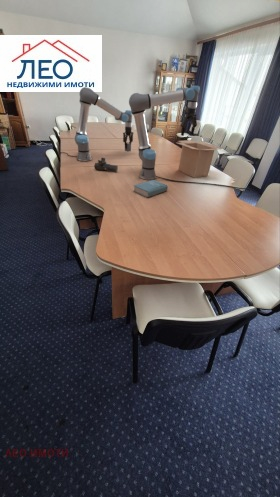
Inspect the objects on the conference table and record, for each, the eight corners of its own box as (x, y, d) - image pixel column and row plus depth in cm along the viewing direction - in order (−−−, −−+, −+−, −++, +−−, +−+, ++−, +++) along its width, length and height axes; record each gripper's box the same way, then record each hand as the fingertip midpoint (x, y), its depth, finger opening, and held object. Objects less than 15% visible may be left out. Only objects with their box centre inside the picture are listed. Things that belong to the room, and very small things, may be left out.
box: (220, 177, 217) (229, 148, 201) (192, 181, 203) (199, 150, 187) (192, 165, 247) (198, 138, 231) (166, 167, 233) (170, 139, 217)
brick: (128, 150, 268) (128, 142, 263) (130, 151, 265) (131, 143, 260) (124, 150, 266) (124, 142, 260) (127, 151, 262) (127, 143, 257)
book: (152, 185, 190) (153, 179, 187) (167, 191, 181) (167, 185, 178) (133, 191, 176) (133, 185, 173) (147, 198, 167) (148, 191, 164)
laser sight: (115, 173, 209) (115, 162, 203) (92, 170, 212) (92, 159, 206) (118, 170, 216) (118, 159, 211) (96, 167, 219) (95, 157, 213)
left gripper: (132, 125, 257) (131, 147, 271) (119, 126, 247) (119, 148, 261) (136, 126, 252) (135, 148, 266) (123, 127, 243) (123, 149, 257)
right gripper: (197, 107, 199) (192, 133, 212) (178, 107, 186) (174, 135, 198) (204, 108, 195) (198, 134, 207) (185, 108, 181) (181, 136, 194)
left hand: (127, 148), depth 264 cm, fingers closed on brick, 5 cm apart
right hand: (187, 135), depth 203 cm, fingers open, 13 cm apart
